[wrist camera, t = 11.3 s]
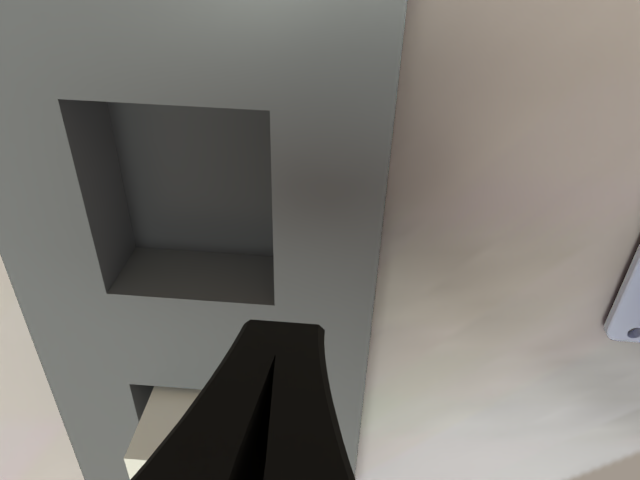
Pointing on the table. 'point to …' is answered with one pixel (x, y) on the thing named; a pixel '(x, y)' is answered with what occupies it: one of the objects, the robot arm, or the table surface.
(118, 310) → the socket board
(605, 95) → the table surface
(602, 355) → the table surface
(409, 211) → the table surface
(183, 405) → the plug
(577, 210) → the table surface
